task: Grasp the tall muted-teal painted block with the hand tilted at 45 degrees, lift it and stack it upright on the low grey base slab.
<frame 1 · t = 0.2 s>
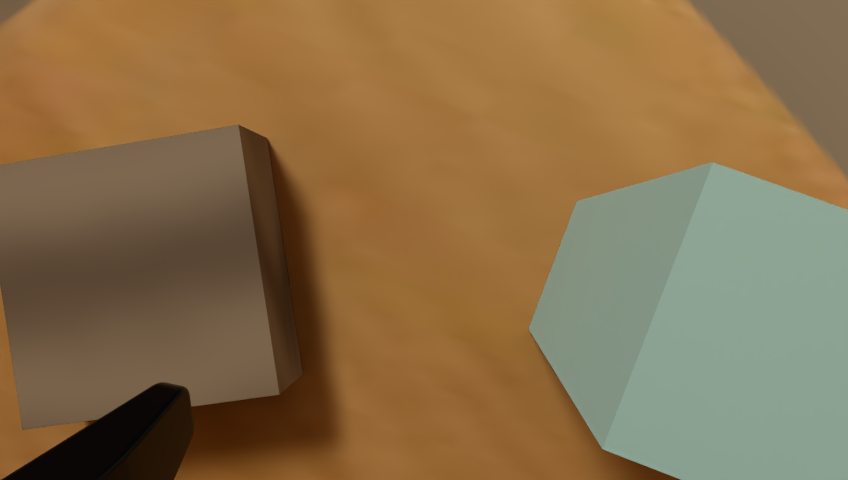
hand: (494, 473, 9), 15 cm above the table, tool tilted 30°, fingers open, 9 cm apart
base slab: (170, 273, 24), on the table
pillar: (617, 289, 23), on the table
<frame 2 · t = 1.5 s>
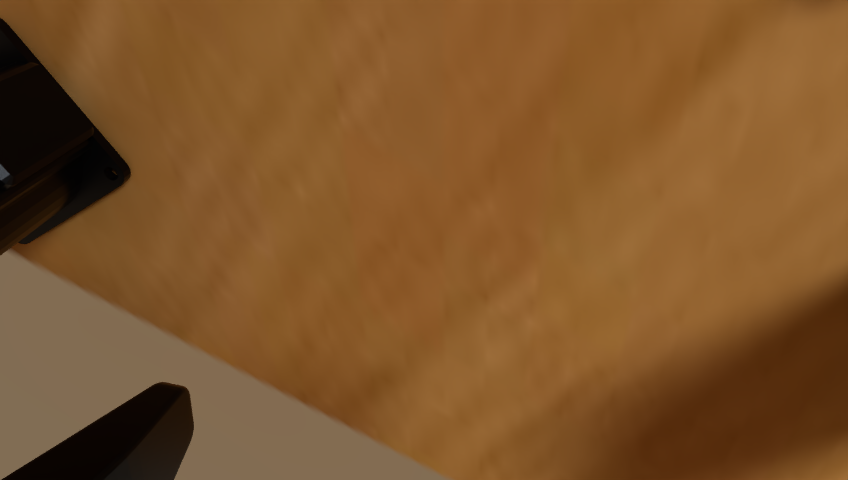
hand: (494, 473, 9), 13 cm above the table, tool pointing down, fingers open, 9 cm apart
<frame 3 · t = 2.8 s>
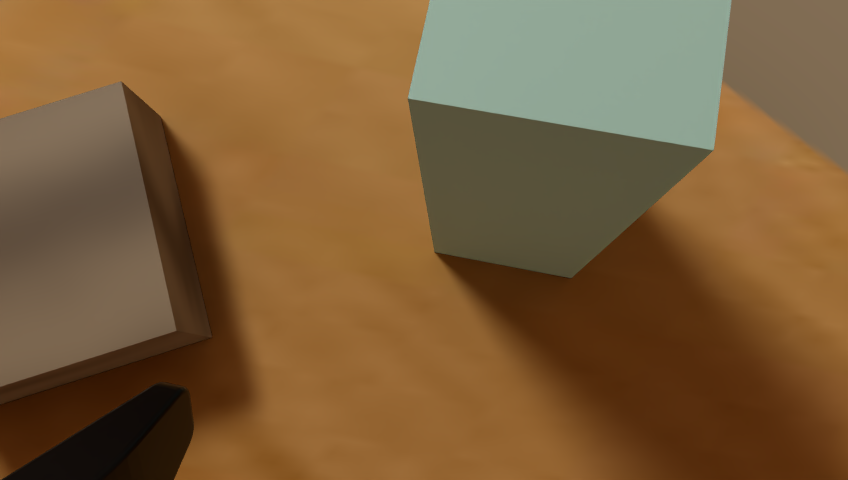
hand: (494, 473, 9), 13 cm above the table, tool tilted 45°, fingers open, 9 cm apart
base slab: (70, 258, 24), on the table
pillar: (514, 199, 24), on the table
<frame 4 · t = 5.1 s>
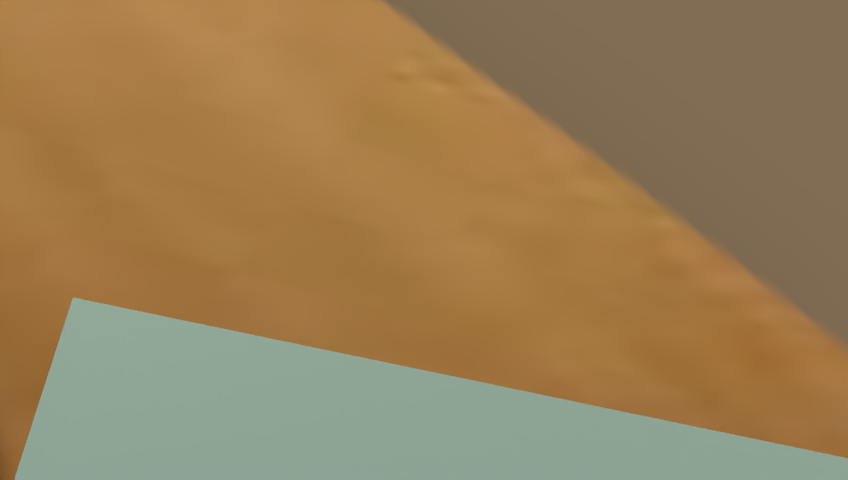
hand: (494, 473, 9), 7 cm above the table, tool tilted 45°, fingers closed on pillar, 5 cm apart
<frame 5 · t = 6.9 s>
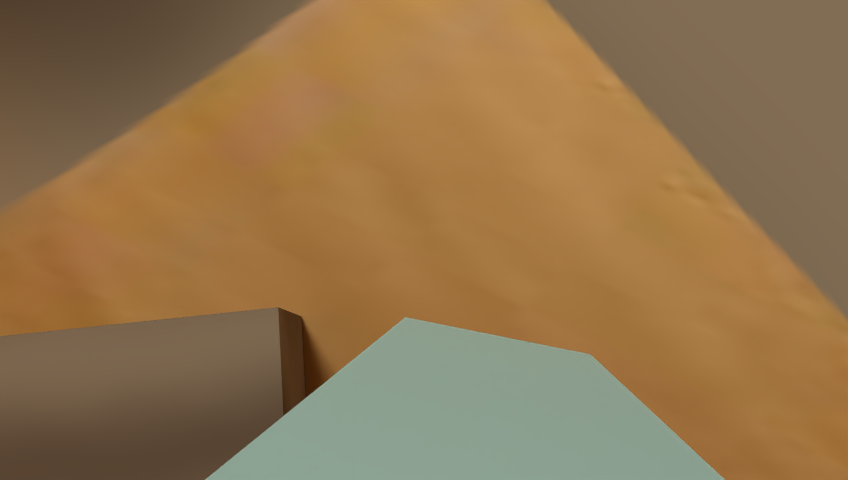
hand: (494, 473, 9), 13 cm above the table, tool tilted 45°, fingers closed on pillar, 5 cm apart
base slab: (179, 459, 22), on the table
pillar: (479, 427, 17), point 5 cm above the table, tilted 11°, touching gripper
when the fingers open (11 cm above the table, at t = 8.4 s): pillar stays where it is, resting on base slab.
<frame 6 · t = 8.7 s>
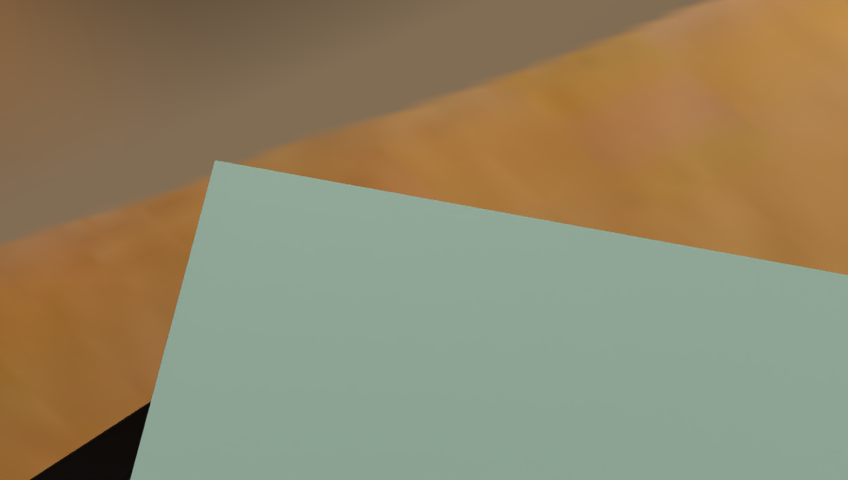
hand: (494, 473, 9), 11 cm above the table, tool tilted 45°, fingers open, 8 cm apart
pillar: (478, 426, 16), point 3 cm above the table, touching base slab
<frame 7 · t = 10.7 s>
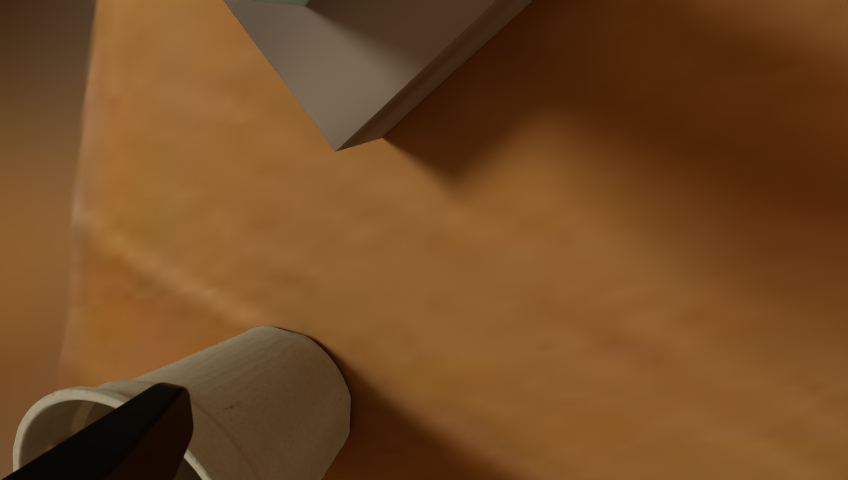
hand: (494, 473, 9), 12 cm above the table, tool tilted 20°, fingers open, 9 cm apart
flower pot: (294, 391, 27), on the table
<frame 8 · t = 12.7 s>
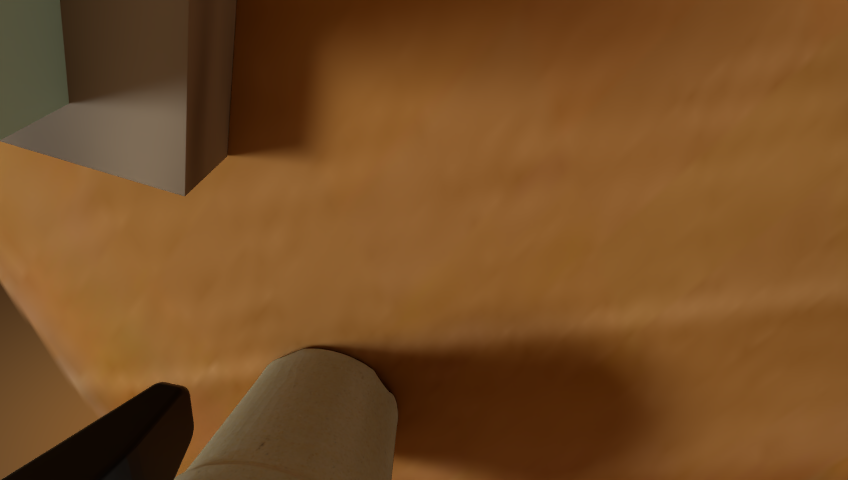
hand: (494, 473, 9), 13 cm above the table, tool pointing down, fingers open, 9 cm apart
flower pot: (333, 395, 28), on the table
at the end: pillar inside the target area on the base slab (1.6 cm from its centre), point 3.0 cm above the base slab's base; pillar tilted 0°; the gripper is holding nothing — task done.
